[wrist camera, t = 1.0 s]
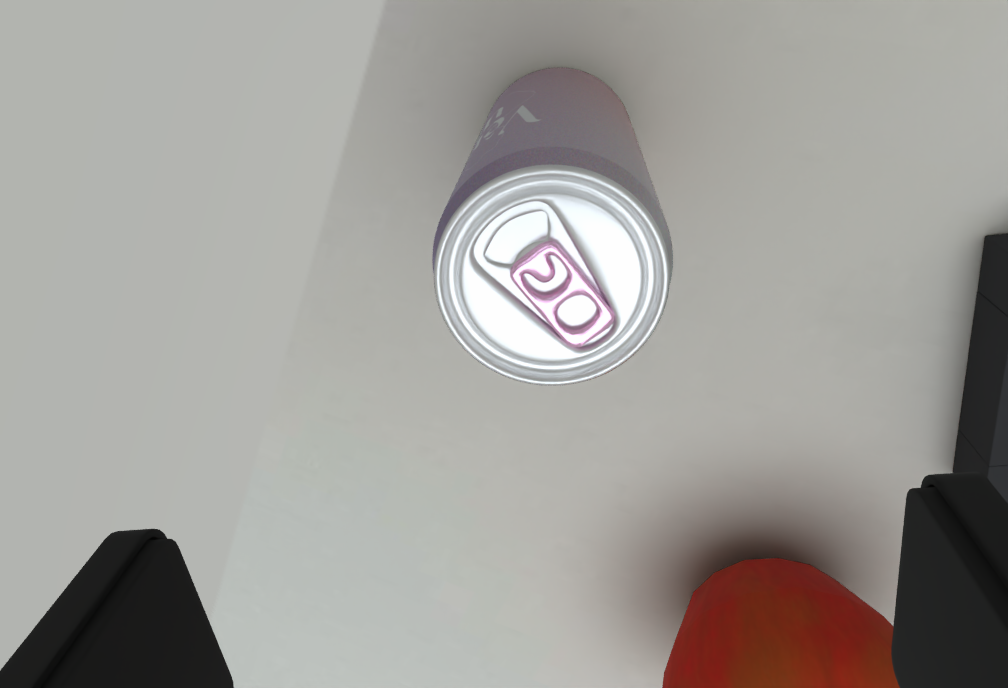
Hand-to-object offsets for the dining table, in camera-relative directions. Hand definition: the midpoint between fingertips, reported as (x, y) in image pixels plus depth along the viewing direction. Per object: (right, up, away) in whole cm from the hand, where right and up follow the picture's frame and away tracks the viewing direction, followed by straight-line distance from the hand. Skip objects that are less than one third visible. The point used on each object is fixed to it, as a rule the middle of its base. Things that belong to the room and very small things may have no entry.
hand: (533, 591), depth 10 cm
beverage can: (+2, +11, +22) cm, 25 cm away
